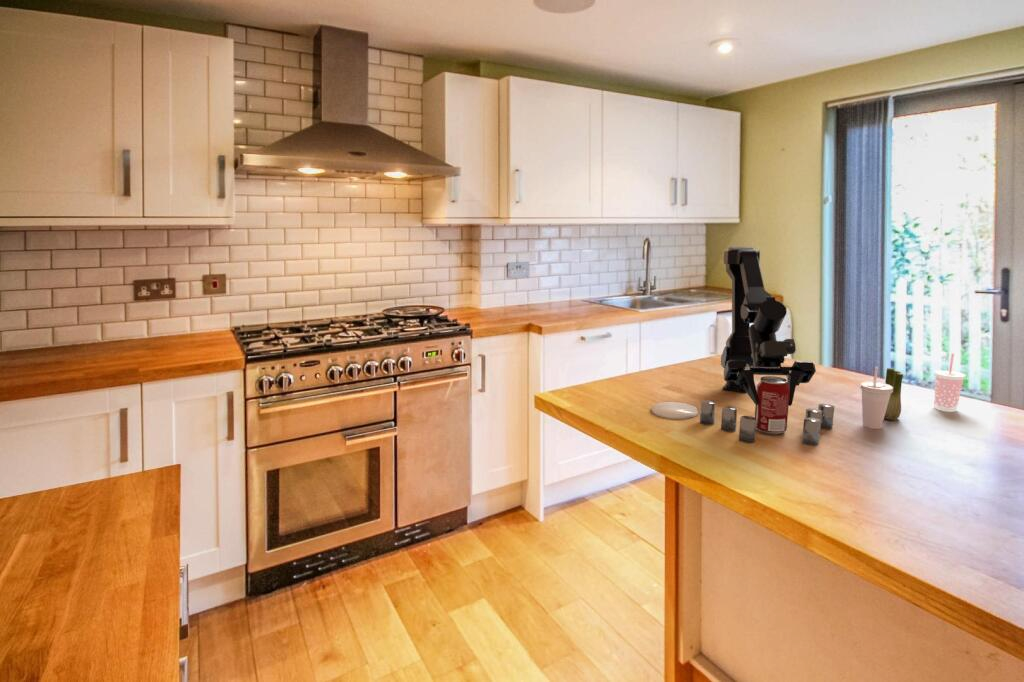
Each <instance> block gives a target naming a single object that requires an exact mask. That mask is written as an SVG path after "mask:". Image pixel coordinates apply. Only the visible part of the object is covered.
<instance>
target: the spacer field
mask: <svg viewBox="0 0 1024 682" xmlns="http://www.w3.org/2000/svg"><path fill="white" fill-rule="evenodd" d="M715 412H716V402H715V401H713V400H705V399H704V400H702V401H700V416H699V423H700V424H701V425H704V426H714V425H715V417H716V413H715ZM834 413H835V405H833V404H831V403H818V409H817V408H806V409H805V417H804V419H803V427H802V438H801V442H802V443H803V444H805V445H807V446H818V445H819V443H820V435H821V429H822V428H823V429H824V430H831V429H833V424H834V416H835V415H834ZM737 417H738V408H737V407H734V406H730V405H729V406H728V405H724V406H722V408H721V423H720V424H721V425H720V430H721V431H723V432H727V433H733V432H736V430H737V419H738V418H737ZM739 418H740V420H739V434H738V441H740V442H741V443H746V444H753V443H755V441H756V431H757V429H756V418H755V416H752V415H743V416H740V417H739ZM823 429H822V430H823Z"/></svg>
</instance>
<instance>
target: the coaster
mask: <svg viewBox="0 0 1024 682" xmlns="http://www.w3.org/2000/svg"><path fill="white" fill-rule="evenodd" d="M651 413H652V414H653V415H655V416H657V417H661V418H664V419H671V420H687V419H693V418H695V417H697V416H698V414H699V409H698V408H697V407H695V406H694V405H691V404H689V403H684V402H676V401H663V402H662V401H661V402H658V403H654V404H653V405H652V406H651Z"/></svg>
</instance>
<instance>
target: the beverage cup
mask: <svg viewBox="0 0 1024 682" xmlns="http://www.w3.org/2000/svg"><path fill="white" fill-rule="evenodd" d="M950 355H951V356H950V362H949V363H950V364H949V368H948V369H949V370H943V369H942V370H936V371H934V376H935V386H934V400H933V409H935V410H938V411H941V412H942V411H943V412H948V413H949V412H952V413H953V412H956V411H957V409H958V404H959V400H960V396H961V392H962V387H963V383H964V380H966V379H965V378H966V374H964V373H963V372H959V371H954V370H953V365H954V364H953V363H954V355H955V353H951V354H950Z"/></svg>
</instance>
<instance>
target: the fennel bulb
mask: <svg viewBox="0 0 1024 682" xmlns="http://www.w3.org/2000/svg"><path fill="white" fill-rule="evenodd" d="M903 376H904V374H903V373H901V372H900V371H898V370H895V369H894V368H890V367H886V373H885V383H884V384H888V385H890V386H892V387H893V392H892V393H891V394H890V398H889V402H888V405H887V409H886V413H885V416H884V420H891V421H895V420H897V419H899V418H900V415H901V412H902V401H901V399H902V398H901V396H902V394H901V393H902V382H903V378H904V377H903Z"/></svg>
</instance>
